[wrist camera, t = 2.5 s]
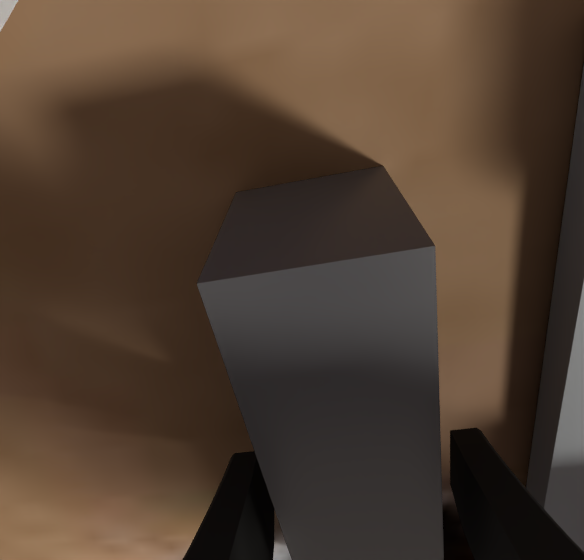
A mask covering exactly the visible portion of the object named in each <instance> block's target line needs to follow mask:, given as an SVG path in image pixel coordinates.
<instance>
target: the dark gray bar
mask: <svg viewBox="0 0 584 560" xmlns="http://www.w3.org/2000/svg"><path fill="white" fill-rule="evenodd" d="M197 286H198V289H199V292H200V295H201V298H202V301H203V303H204V306H205V309H206V312H207V315H208V318H209V321H210V324H211V327H212V330H213V332H214V335H215V338H216V341H217V344H218V347H219V350H220V353H221V356H222V359H223V361H224V364H225V367H226V370H227V373H228V376H229V379H230V382H231V385H232V387H233V390H234V393H235V396H236V399H237V402H238V405H239V408H240V411H241V414H242V416H243V419H244V422H245V425H246V428H247V431H248V434H249V437H250V440H251V443H252V445H253V448H254V451H255V454H256V457H257V460H258V463H259V466H260V469H261V472H262V474H263V477H264V480H265V483H266V486H267V489H268V492H269V495H270V498H271V501H272V503H273V506H274V509H275V512H276V515H277V518H278V521H279V524H280V527H281V530H282V532H283V535H284V538H285V541H286V544H287V547H288V550H289V553H290V556H291V559H292V560H444V550H443V514H442V477H441V441H440V405H439V368H438V332H437V296H436V260H435V245H434V243H433V242H432V240H431V239H430V237H429V236H428V234H427V233H426V231H425V229H424V228H423V226H422V225H421V223H420V222H419V220H418V219H417V217H416V216H415V214H414V213H413V211H412V209H411V208H410V206H409V205H408V203H407V202H406V200H405V199H404V197H403V196H402V194H401V193H400V191H399V189H398V188H397V186H396V185H395V183H394V182H393V180H392V179H391V177H390V176H389V174H388V173H387V171H386V169H385V168H384V166H379V167H374V168H368V169H362V170H357V171H351V172H346V173H340V174H335V175H329V176H324V177H318V178H313V179H307V180H301V181H296V182H290V183H285V184H279V185H274V186H268V187H263V188H257V189H252V190H246V191H240V192H236V194H235V196H234V198H233V201H232V203H231V205H230V208H229V210H228V212H227V215H226V217H225V219H224V222H223V224H222V226H221V228H220V231H219V233H218V235H217V238H216V240H215V242H214V245H213V247H212V249H211V252H210V254H209V256H208V259H207V261H206V263H205V266H204V268H203V270H202V272H201V275H200V277H199V279H198V282H197Z"/></svg>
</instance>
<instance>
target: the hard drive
mask: <svg viewBox="0 0 584 560" xmlns="http://www.w3.org/2000/svg"><path fill="white" fill-rule="evenodd" d="M17 2H18V0H0V31H1V29H2V28H3V26H4V24H5V22H6V21H7V19H8V17H9V15H10V14H11V12H12V10H13V9H14V7H15V5H16V3H17Z"/></svg>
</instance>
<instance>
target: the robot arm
mask: <svg viewBox="0 0 584 560" xmlns="http://www.w3.org/2000/svg"><path fill="white" fill-rule="evenodd" d="M450 485H451V488H452V492H453V496H454V499H455V503H456V507H457V510H458V514H459V517H460V521H461V524H462V528H463V531H464V533H465V536H466V539H467V541H468V544H469V547H470V549H471V552H472V554H473V557H474V560H584V552H583V551H582V549H581V548H580V547H579V546H578V545H577V544H576V543H575V542H574V541H573V540H572V539H571V538H570V537H569V536H568V535H567V534H566V533H565V532H564V530H563V529H562V528H561V527H560V526H559V525H558V524H557V523H556V522H555V521H554V520H553V518H552V517H551V516H550V515H549V514H548V513H547V512H546V511H545V509H544V508H543V507H542V506H541V505H540V504H539V503H538V501H537V500H536V499H535V498H534V497H533V496H532V495H531V494H530V492H529V491H528V490H527V489H526V488H525V486H524V485H523V484H522V483H521V482H520V481H519V479H518V478H517V477H516V476H515V474H514V473H513V472H512V471H511V470H510V468H509V467H508V466H507V465H506V463H505V462H504V461H503V460H502V458H501V457H500V456H499V454H498V453H497V452H496V451H495V449H494V448H493V447H492V445H491V444H490V443H489V441H488V440H487V438H486V437H485V436H484V434H483V433H482V431H481V430H479V429H478V428H470V429H461V430H451V431H450ZM273 551H274V506H273V503H272V501H271V498H270V495H269V492H268V489H267V486H266V483H265V480H264V477H263V474H262V472H261V469H260V466H259V463H258V460H257V457H256V454H255V451H252V452H242V453H235V454H234V455H233V456H232V457H231V459H230V462H229V464H228V466H227V469H226V471H225V474H224V476H223V478H222V481H221V483H220V485H219V487H218V490H217V492H216V494H215V496H214V498H213V500H212V503H211V505H210V507H209V509H208V511H207V513H206V515H205V517H204V519H203V521H202V523H201V525H200V527H199V529H198V531H197V533H196V535H195V537H194V539H193V541H192V543H191V545H190V547H189V549H188V551H187V553H186V554H185V556H184V558H183V560H273Z"/></svg>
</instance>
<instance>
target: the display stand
mask: <svg viewBox="0 0 584 560" xmlns="http://www.w3.org/2000/svg"><path fill="white" fill-rule="evenodd" d="M526 489H527V490H528V491H529V492H530V494H531V495H532V496H533V497H534V498H535V499H536V500H537V501H538V503H539V504H540V505H541V506H542V507H543V508H544V509H545V511H546V512H547V513H548V514H549V515H550V516H551V517H552V518H553V520H554V521H555V522H556V523H557V524H558V525H559V526H560V527H561V528H562V529H563V530H564V532H565V533H566V534H567V535H568V536H569V537H570V538H571V539H572V540H573V541H574V542H575V543H576V544H577V545H578V546H579V547H580V548H581V549H582V551H583V552H584V65H583V72H582V79H581V87H580V94H579V101H578V109H577V116H576V124H575V131H574V138H573V146H572V153H571V160H570V168H569V175H568V182H567V190H566V197H565V205H564V212H563V219H562V227H561V234H560V241H559V249H558V256H557V263H556V271H555V278H554V286H553V293H552V300H551V308H550V315H549V322H548V330H547V337H546V344H545V352H544V359H543V366H542V374H541V381H540V389H539V396H538V403H537V411H536V418H535V425H534V433H533V440H532V447H531V455H530V462H529V470H528V477H527V484H526Z"/></svg>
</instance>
